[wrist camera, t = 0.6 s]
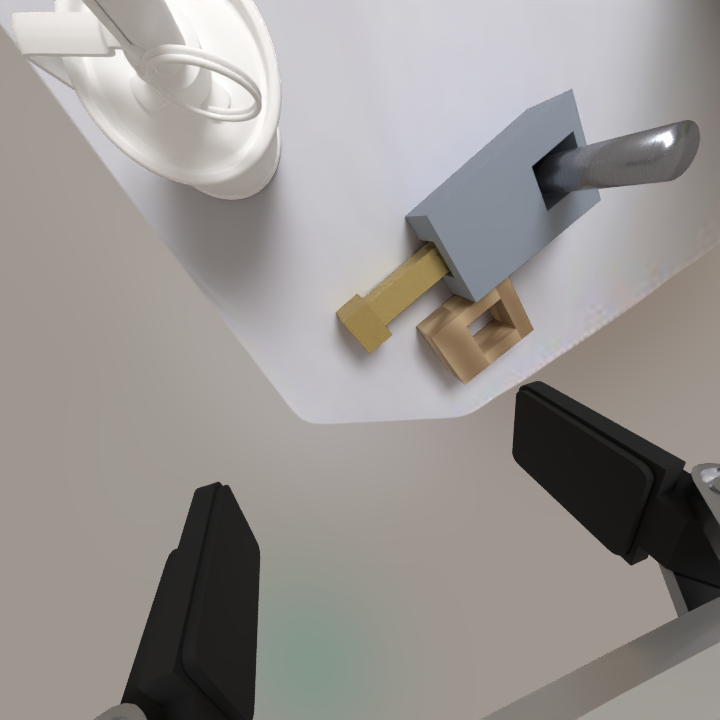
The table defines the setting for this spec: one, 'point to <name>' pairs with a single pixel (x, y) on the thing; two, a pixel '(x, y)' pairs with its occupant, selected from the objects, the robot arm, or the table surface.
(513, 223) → the socket block
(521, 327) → the tan slotted block
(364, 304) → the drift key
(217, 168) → the white nozzle bottle
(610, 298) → the table surface
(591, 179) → the metal cylinder rod
